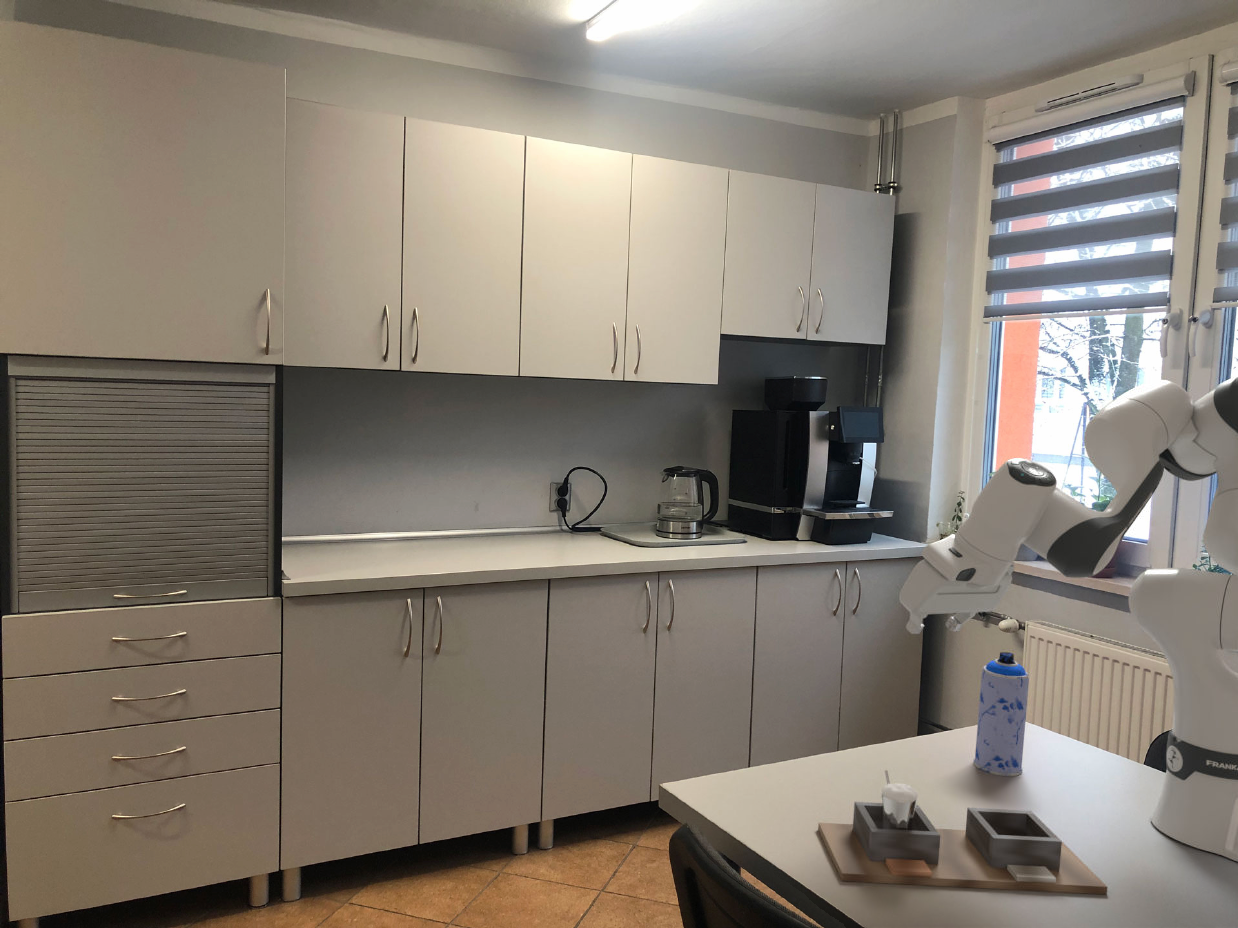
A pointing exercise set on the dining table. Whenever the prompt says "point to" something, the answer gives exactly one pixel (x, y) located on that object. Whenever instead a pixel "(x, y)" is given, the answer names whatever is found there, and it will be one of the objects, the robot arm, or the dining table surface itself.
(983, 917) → the dining table surface
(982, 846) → the port board
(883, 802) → the milkshake
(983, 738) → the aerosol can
